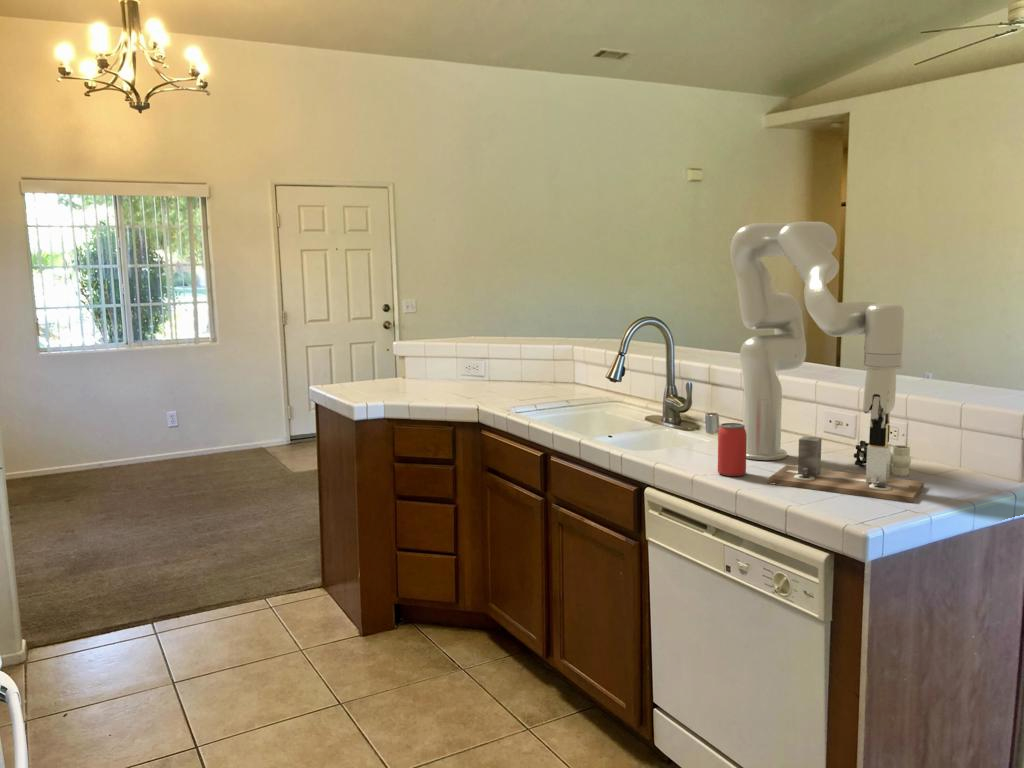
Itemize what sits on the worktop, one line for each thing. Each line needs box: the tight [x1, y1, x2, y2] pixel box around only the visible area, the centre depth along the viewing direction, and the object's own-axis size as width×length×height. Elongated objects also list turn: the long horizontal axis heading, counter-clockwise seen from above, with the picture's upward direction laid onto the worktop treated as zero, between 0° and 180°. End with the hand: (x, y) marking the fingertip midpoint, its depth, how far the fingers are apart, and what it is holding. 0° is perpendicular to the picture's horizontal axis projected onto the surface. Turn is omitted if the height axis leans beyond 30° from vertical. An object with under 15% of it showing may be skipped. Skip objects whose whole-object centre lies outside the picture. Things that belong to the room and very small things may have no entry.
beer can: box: [717, 422, 747, 477], centre depth 190 cm, size 7×7×12 cm
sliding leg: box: [865, 422, 891, 485], centre depth 173 cm, size 4×6×13 cm, turn 145°
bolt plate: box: [767, 435, 925, 504], centre depth 178 cm, size 30×14×10 cm, turn 55°
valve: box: [853, 440, 912, 477], centre depth 190 cm, size 7×7×12 cm
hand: (879, 443), depth 174 cm, fingers closed on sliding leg, 3 cm apart
